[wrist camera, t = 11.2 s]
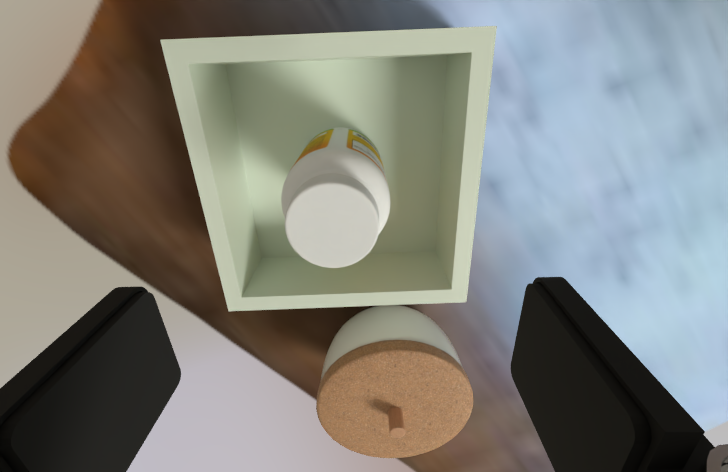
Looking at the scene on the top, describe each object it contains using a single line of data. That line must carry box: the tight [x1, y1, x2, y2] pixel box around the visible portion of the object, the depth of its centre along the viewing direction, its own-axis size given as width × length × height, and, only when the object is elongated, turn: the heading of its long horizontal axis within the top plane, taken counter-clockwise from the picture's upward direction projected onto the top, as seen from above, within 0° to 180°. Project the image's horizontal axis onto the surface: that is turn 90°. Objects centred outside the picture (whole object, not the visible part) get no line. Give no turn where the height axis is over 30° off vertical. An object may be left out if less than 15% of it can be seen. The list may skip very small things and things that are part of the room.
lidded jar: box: [316, 305, 473, 458], centre depth 27 cm, size 11×11×9 cm
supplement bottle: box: [281, 127, 390, 268], centre depth 19 cm, size 5×5×10 cm
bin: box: [160, 26, 497, 311], centre depth 22 cm, size 15×15×6 cm
